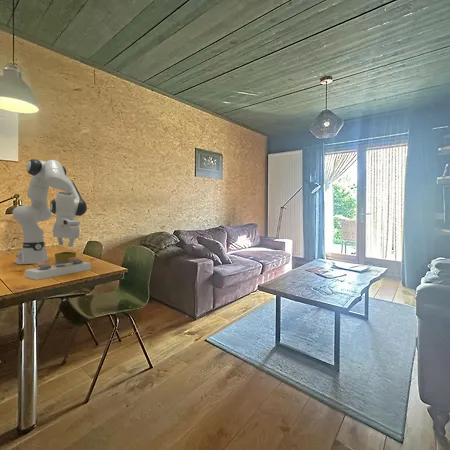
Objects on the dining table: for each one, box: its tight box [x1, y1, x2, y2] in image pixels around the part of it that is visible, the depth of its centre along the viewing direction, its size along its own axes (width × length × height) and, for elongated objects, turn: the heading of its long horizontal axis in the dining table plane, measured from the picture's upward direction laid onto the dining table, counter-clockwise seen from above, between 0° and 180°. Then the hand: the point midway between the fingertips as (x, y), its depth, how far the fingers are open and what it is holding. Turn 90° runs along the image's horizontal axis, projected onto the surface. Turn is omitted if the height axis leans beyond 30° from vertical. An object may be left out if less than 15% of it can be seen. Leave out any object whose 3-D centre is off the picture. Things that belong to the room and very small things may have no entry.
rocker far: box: [69, 257, 84, 264], centre depth 159 cm, size 8×4×1 cm, turn 60°
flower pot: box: [54, 251, 77, 265], centre depth 170 cm, size 9×9×9 cm
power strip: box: [24, 261, 92, 281], centre depth 153 cm, size 12×34×4 cm, turn 150°
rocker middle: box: [52, 260, 68, 266], centre depth 151 cm, size 8×4×1 cm, turn 60°
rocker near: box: [34, 262, 52, 269], centre depth 143 cm, size 8×4×1 cm, turn 60°
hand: (65, 245), depth 147 cm, fingers open, 8 cm apart
